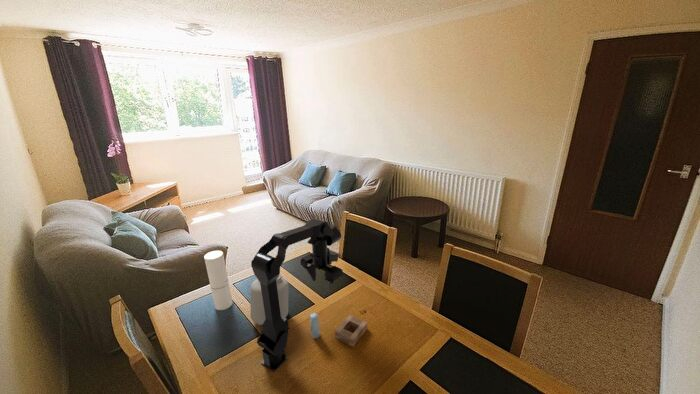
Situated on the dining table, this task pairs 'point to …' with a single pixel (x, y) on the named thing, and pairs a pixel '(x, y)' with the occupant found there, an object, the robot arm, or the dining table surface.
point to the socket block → (348, 336)
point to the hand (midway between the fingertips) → (322, 285)
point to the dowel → (314, 325)
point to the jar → (257, 300)
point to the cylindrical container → (218, 279)
